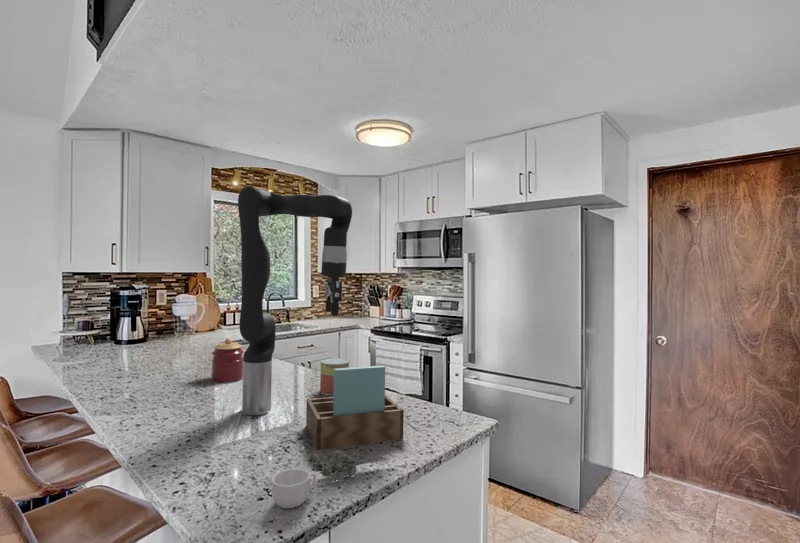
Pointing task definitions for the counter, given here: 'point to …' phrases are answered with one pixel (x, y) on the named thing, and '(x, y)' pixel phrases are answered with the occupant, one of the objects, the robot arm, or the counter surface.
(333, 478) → the egg carton
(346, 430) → the rack
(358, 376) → the teal board
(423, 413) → the counter surface
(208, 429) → the counter surface
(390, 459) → the counter surface
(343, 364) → the canned food
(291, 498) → the teacup
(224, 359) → the canister
